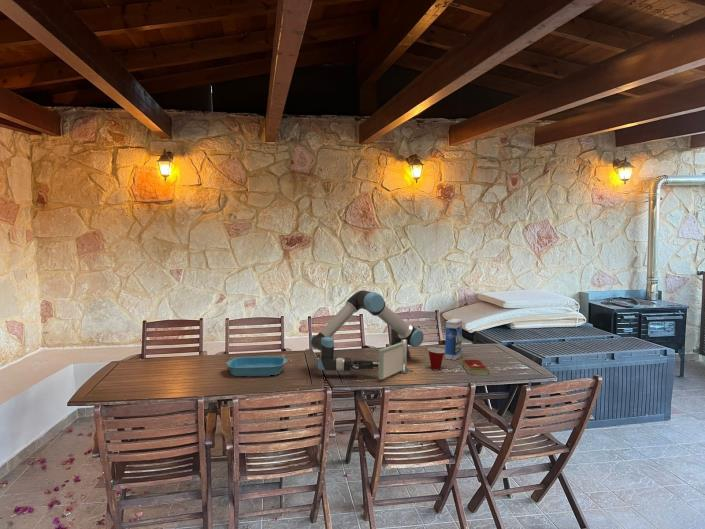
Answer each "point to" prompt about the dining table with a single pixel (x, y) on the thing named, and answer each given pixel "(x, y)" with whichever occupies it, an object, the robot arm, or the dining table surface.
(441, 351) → the plastic cup
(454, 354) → the string lights box
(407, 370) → the post
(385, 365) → the beige panel
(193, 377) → the dining table surface
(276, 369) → the casserole dish
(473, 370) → the hardcover book
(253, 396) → the dining table surface
